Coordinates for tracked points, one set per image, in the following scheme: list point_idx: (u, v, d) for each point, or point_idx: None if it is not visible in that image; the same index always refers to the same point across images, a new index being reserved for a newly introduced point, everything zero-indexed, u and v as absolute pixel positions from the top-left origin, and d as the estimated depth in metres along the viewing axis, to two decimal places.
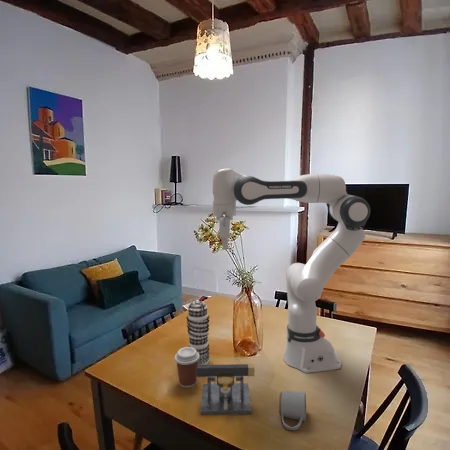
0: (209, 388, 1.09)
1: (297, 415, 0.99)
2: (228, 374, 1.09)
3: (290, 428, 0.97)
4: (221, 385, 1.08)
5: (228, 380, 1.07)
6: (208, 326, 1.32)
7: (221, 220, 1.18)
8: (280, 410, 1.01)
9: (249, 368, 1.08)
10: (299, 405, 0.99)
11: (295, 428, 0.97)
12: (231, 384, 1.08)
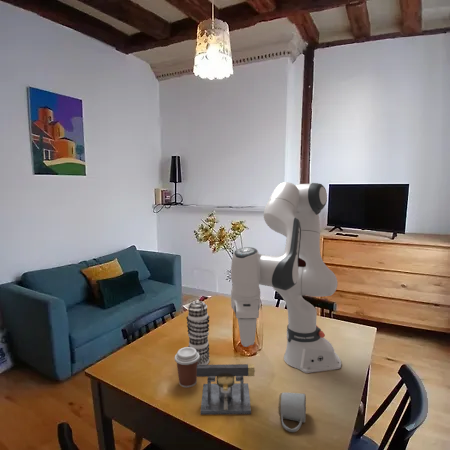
0: (209, 388, 1.09)
1: (297, 417, 0.98)
2: (228, 374, 1.09)
3: (290, 429, 0.96)
4: (221, 385, 1.08)
5: (228, 380, 1.07)
6: (208, 326, 1.32)
7: None
8: (280, 411, 1.00)
9: (249, 368, 1.08)
10: (299, 406, 0.98)
11: (295, 430, 0.96)
12: (231, 384, 1.08)
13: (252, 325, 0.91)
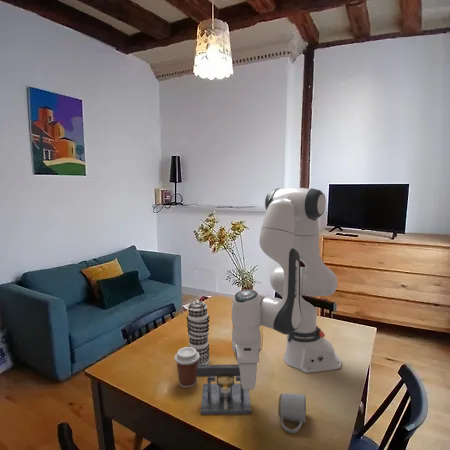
0: (209, 388, 1.09)
1: (297, 418, 0.98)
2: (228, 374, 1.09)
3: (290, 430, 0.96)
4: (221, 385, 1.08)
5: (228, 380, 1.07)
6: (208, 326, 1.32)
7: None
8: (279, 412, 1.00)
9: None
10: (299, 407, 0.98)
11: (295, 431, 0.96)
12: (231, 384, 1.08)
13: (252, 370, 0.92)
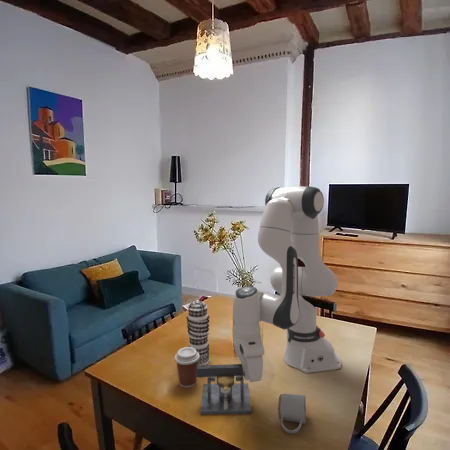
0: (209, 388, 1.09)
1: (297, 418, 0.98)
2: (228, 374, 1.09)
3: (289, 431, 0.95)
4: (221, 385, 1.07)
5: (228, 380, 1.07)
6: (208, 326, 1.32)
7: None
8: (279, 413, 0.99)
9: None
10: (299, 408, 0.98)
11: (295, 431, 0.95)
12: (231, 384, 1.08)
13: (259, 362, 0.97)
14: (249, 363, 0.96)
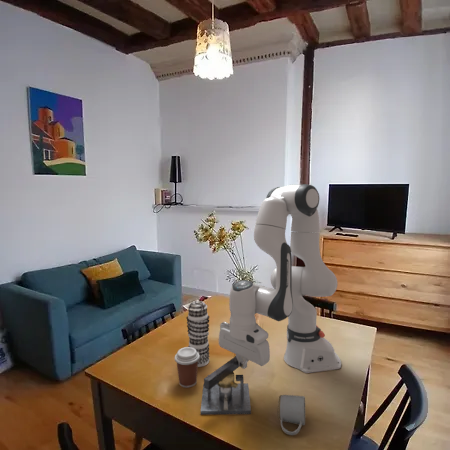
0: None
1: (296, 420, 0.97)
2: (229, 372, 1.10)
3: (289, 432, 0.95)
4: (229, 385, 1.07)
5: (233, 376, 1.09)
6: (208, 326, 1.32)
7: None
8: (279, 414, 0.99)
9: None
10: (298, 409, 0.97)
11: (294, 433, 0.95)
12: None
13: (267, 346, 1.06)
14: (261, 349, 1.04)
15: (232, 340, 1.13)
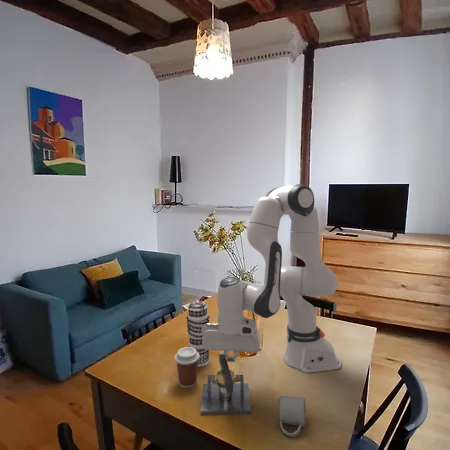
0: (209, 388, 1.09)
1: (296, 421, 0.97)
2: None
3: (289, 434, 0.94)
4: None
5: None
6: None
7: None
8: (279, 415, 0.98)
9: (224, 354, 1.18)
10: (298, 410, 0.97)
11: (294, 434, 0.94)
12: None
13: (257, 332, 1.15)
14: (257, 336, 1.12)
15: (220, 338, 1.14)
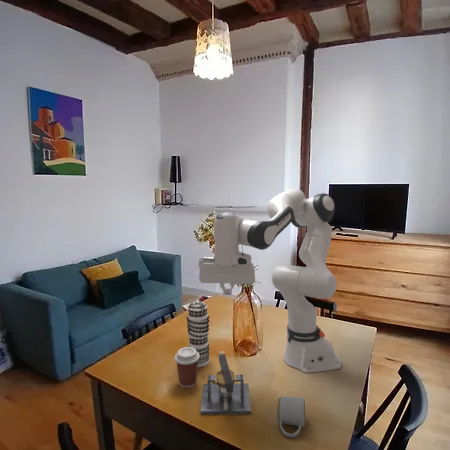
0: (209, 388, 1.09)
1: (296, 422, 0.96)
2: None
3: (289, 435, 0.94)
4: None
5: None
6: (208, 326, 1.32)
7: None
8: (278, 416, 0.98)
9: (224, 354, 1.18)
10: (298, 411, 0.96)
11: (294, 435, 0.94)
12: None
13: None
14: (252, 267, 1.15)
15: (217, 271, 1.17)
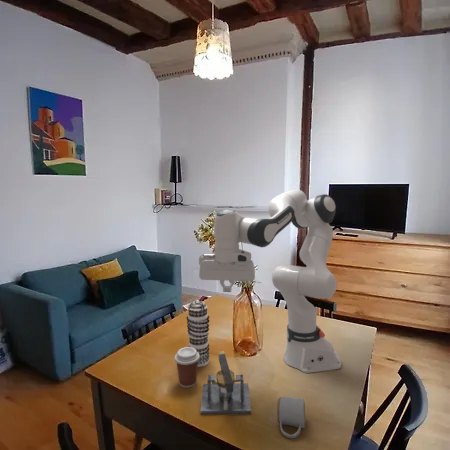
0: (209, 388, 1.09)
1: (296, 422, 0.96)
2: None
3: (289, 435, 0.94)
4: None
5: None
6: (208, 326, 1.32)
7: None
8: (278, 417, 0.98)
9: (224, 354, 1.18)
10: (298, 412, 0.96)
11: (294, 436, 0.94)
12: None
13: None
14: (252, 265, 1.16)
15: (217, 268, 1.18)
